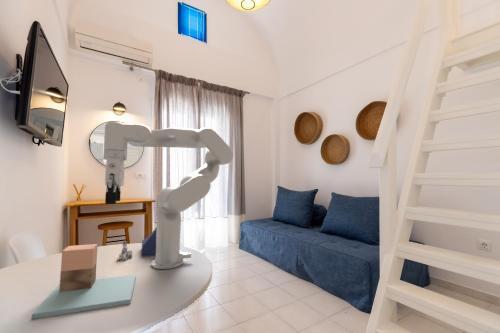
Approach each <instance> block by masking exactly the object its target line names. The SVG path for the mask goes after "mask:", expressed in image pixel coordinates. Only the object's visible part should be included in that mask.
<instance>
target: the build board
mask: <svg viewBox="0 0 500 333" xmlns="http://www.w3.org/2000/svg"><path fill="white" fill-rule="evenodd" d="M136 279H137V274H130V275H122V276H115V277H114V276H113V277H108V278H107V277H105V278H104V277H103V278H97V279H96V281H95V282H94V284H93V286H92V288H88V289H80V290H73V291H65V292H59V290H60V283H59V284H58V285H57V286H56V287H55V288H54V289H53V290H52V291H51V293H50V294H48V296H47V297H46V298H45V299H44V300H43V301H42V303H40V305H39V306H38V307H37V308H36V309H35V310H33V312H32V313H31V320H35V319H39V318H40V319H41V318H46V317H53V316H59V315H67V314H73V313H78V312H80V313H81V312H86V311H92V310H99V309H105V308H111V307H116V306H117V307H118V306H123V305H124V306H125V305H130V304H131V303H132V302H131V301H132V297H133V293H134V289H135V284H136Z"/></svg>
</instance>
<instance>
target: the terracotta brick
mask: <svg viewBox="0 0 500 333" xmlns="http://www.w3.org/2000/svg"><path fill="white" fill-rule="evenodd" d="M98 247H99V246H98V243H92V244H79V245H77V244H75V245H68V246H67V247H65V248H64V249H63V250H62V251H61V266H60V272H61V271H70V270H80V269H90V268H93V267H94V265H95V264H96V265H97V263H98V262H97V261H98ZM96 262H97V263H96Z"/></svg>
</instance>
